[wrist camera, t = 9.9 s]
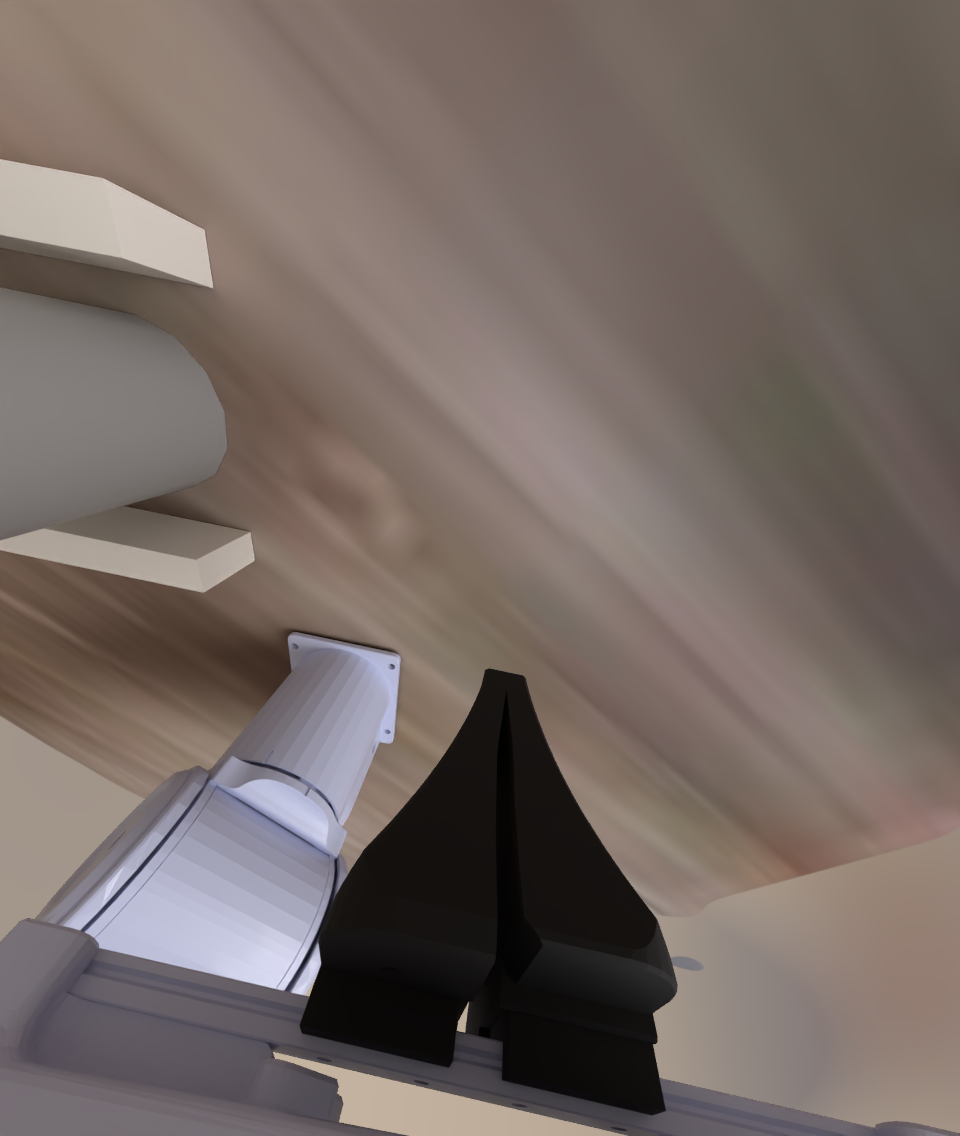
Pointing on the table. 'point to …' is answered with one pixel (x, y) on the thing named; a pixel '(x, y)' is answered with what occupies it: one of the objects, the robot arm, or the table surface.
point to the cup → (96, 412)
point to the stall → (142, 246)
